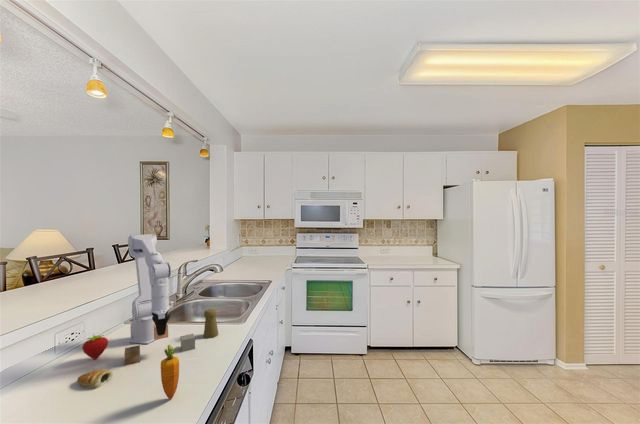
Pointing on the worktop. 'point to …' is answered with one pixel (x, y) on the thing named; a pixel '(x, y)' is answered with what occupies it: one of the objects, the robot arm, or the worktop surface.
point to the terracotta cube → (160, 335)
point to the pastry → (95, 378)
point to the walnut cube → (132, 355)
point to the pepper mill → (210, 323)
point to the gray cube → (187, 342)
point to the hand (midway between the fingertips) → (160, 332)
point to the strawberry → (95, 346)
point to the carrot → (170, 372)
